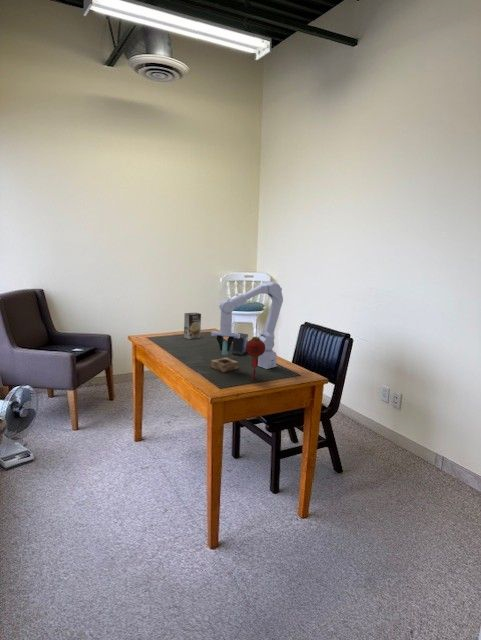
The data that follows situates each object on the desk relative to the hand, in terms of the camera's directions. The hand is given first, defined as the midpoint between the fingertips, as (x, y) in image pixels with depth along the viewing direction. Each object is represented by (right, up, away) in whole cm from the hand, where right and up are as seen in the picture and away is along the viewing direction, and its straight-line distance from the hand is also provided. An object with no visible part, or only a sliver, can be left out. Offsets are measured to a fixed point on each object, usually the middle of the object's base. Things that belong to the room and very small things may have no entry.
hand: (225, 350), depth 215 cm
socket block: (0, -9, +1) cm, 9 cm away
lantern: (+14, -13, -13) cm, 23 cm away
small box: (+8, -4, +31) cm, 32 cm away
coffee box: (-24, +4, +62) cm, 67 cm away
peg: (0, -2, 0) cm, 2 cm away
